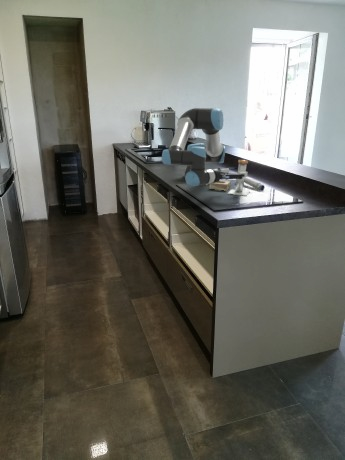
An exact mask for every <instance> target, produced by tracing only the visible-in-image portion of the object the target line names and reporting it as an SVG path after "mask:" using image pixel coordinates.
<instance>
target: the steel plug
mask: <svg viewBox="0 0 345 460" xmlns="http://www.w3.org/2000/svg"><path fill="white" fill-rule="evenodd" d="M237 163H238V166H237V167H238V168H237V173H241V172H247V171H246V170H247V164H249V160H247V159H246V160H245V159H238V162H237ZM244 179H245V177H243V178H242V179H240V180H239V179H237V181H236V180H235V189H234V190H235V191H236V192H243V191H244V186H245V182H244Z"/></svg>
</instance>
